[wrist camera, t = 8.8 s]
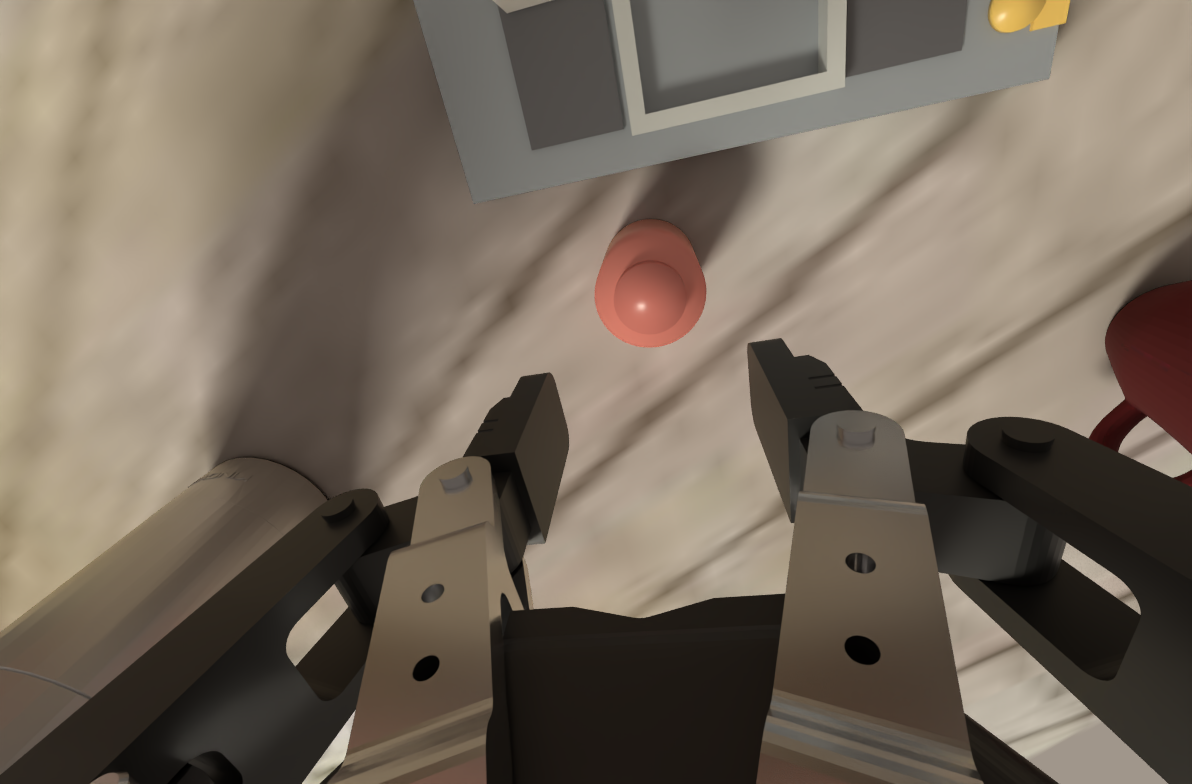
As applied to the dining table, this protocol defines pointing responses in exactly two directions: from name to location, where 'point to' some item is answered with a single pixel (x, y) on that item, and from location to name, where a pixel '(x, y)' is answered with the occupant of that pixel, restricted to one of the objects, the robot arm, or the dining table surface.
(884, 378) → the dining table surface
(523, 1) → the toggle
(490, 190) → the panel
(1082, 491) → the robot arm
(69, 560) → the dining table surface
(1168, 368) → the mug
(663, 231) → the cap
